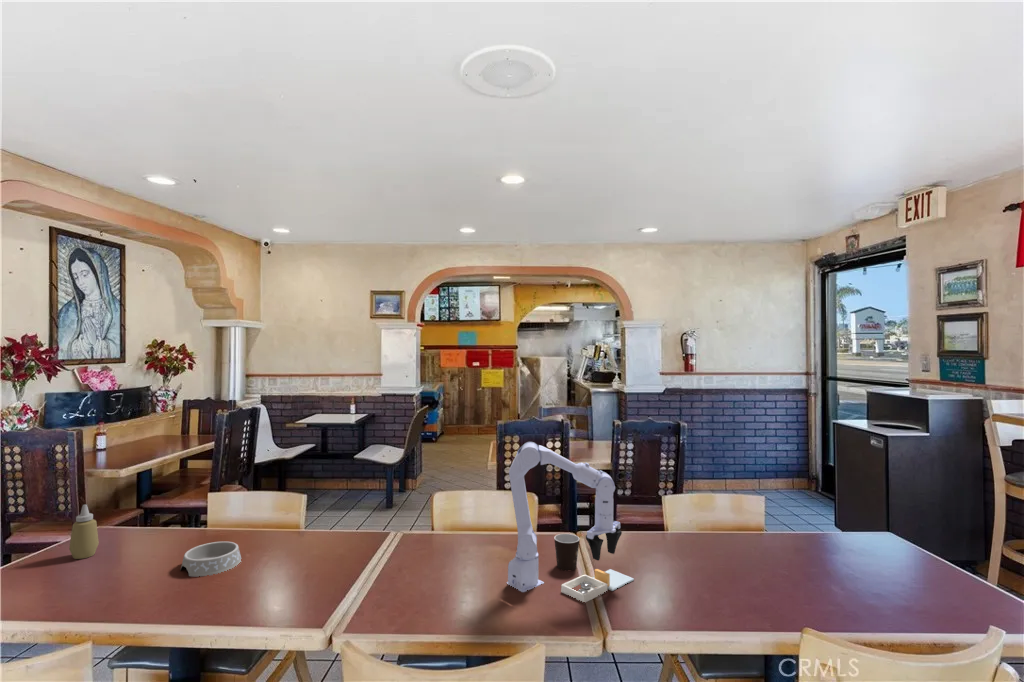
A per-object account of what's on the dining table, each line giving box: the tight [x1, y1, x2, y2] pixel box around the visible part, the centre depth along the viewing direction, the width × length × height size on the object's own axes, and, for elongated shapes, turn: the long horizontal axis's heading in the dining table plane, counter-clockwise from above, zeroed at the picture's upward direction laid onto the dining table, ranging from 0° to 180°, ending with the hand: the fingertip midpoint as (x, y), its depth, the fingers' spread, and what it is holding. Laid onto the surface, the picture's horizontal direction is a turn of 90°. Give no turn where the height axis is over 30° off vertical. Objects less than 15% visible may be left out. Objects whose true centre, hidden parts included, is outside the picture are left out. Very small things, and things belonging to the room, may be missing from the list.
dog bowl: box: [180, 541, 242, 578], centre depth 177 cm, size 17×18×5 cm
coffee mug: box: [553, 533, 581, 572], centre depth 178 cm, size 12×9×10 cm
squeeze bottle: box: [68, 504, 100, 560], centre depth 183 cm, size 8×8×18 cm
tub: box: [560, 574, 608, 603], centre depth 159 cm, size 11×9×3 cm
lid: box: [591, 568, 635, 592], centre depth 167 cm, size 11×9×5 cm
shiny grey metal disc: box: [578, 589, 588, 594], centre depth 157 cm, size 3×3×1 cm
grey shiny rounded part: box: [581, 582, 591, 590], centre depth 162 cm, size 3×3×1 cm
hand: (603, 556), depth 164 cm, fingers open, 7 cm apart
